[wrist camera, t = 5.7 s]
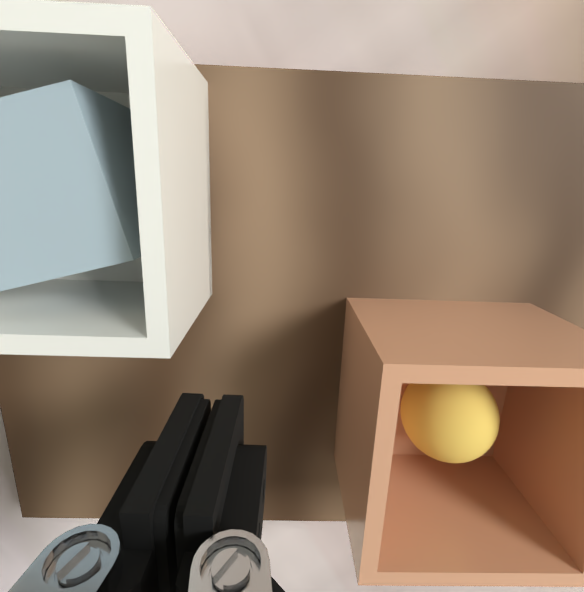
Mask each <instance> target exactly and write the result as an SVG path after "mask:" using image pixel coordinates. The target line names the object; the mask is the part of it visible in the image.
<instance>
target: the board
mask: <svg viewBox="0 0 584 592" xmlns="http://www.w3.org/2000/svg"><path fill="white" fill-rule="evenodd" d="M194 65H195V66H196V67H197V69H198V70H199V71H200V73H201V74H202V75H203V77H204V78H205V79H206V81H207V82H208V115H209V162H210V210H211V257H212V295H211V296H210V298H209V299H208V301H207V302H206V304H205V306H204V307H203V309H202V310H201V312H200V313H199V315H198V316H197V318H196V320H195V321H194V323H193V324H192V326H191V327H190V329H189V330H188V332H187V333H186V335H185V337H184V338H183V340H182V341H181V343H180V344H179V346H178V347H177V349H176V350H175V352H174V354H173V355H172V357H171V358H130V357H89V356H49V355H9V354H0V406H1V411H2V416H3V421H4V426H5V431H6V436H7V441H8V446H9V451H10V456H11V462H12V467H13V472H14V477H15V482H16V487H17V492H18V497H19V502H20V507H21V512H22V517H35V518H100V517H101V516H102V514H103V512H104V510H105V509H106V507H107V505H108V503H109V502H110V500H111V498H112V496H113V495H114V493H115V491H116V489H117V488H118V486H119V484H120V482H121V481H122V479H123V477H124V475H125V474H126V472H127V470H128V468H129V467H130V465H131V463H132V461H133V460H134V458H135V456H136V454H137V453H138V451H139V449H140V447H141V446H142V445H143V443H144V442H146V441H157V440H158V438H159V436H160V434H161V432H162V430H163V428H164V426H165V425H166V423H167V421H168V419H169V417H170V415H171V413H172V411H173V409H174V407H175V405H176V404H177V402H178V400H179V398H180V396H181V394H182V393H200V394H203V395H204V399H210V401H211V409H212V407H213V404H214V401H215V400H216V399H218V400H221V399H222V396H223V395H224V394H225V395H243V397H244V445H267V470H266V490H265V503H264V513H263V520H292V521H346V518H345V512H344V507H343V501H342V496H341V491H340V485H339V480H338V475H337V469H336V464H335V459H334V448H335V436H336V423H337V411H338V399H339V386H340V374H341V362H342V349H343V337H344V325H345V312H346V300H347V298H376V299H409V300H442V301H475V302H509V303H531V304H533V305H535V306H537V307H539V308H541V309H543V310H545V311H547V312H549V313H551V314H553V315H556V316H558V317H560V318H562V319H564V320H566V321H568V322H570V323H572V324H574V325H576V326H578V327H580V328H582V329H584V83H567V82H547V81H526V80H506V79H485V78H465V77H444V76H424V75H403V74H383V73H363V72H342V71H322V70H301V69H281V68H260V67H240V66H219V65H199V64H194Z"/></svg>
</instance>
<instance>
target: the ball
mask: <svg viewBox="0 0 584 592" xmlns="http://www.w3.org/2000/svg"><path fill="white" fill-rule="evenodd" d="M400 412H401V420H402V424H403V426H404V429H405V431H406V433H407V435H408V437H409V438H410V440H411V441H412V442H413V443H414V445H415V446H416V447H417V448H418V449H420V450H421V451H422V452H423V453H425V454H426V455H428V456H430V457H432V458H434V459H436V460H439V461H442V462H447V463H465V462H469V461H472V460H475V459H477V458H479V457H480V456H482V455H483V454H484V453H486V452H487V451H488V450H489V449H490V447H491V446H492V445H493V443H494V441H495V440H496V437H497V435H498V431H499V426H500V415H499V409H498V406H497V403H496V401H495V399H494V397H493V395H492V393H491V392H490V390H489V389H488V388H487V387H486V385H458V384H415V383H409V385H408V386H407V388H406V389H405V391H404V394H403V397H402V400H401V410H400Z"/></svg>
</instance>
